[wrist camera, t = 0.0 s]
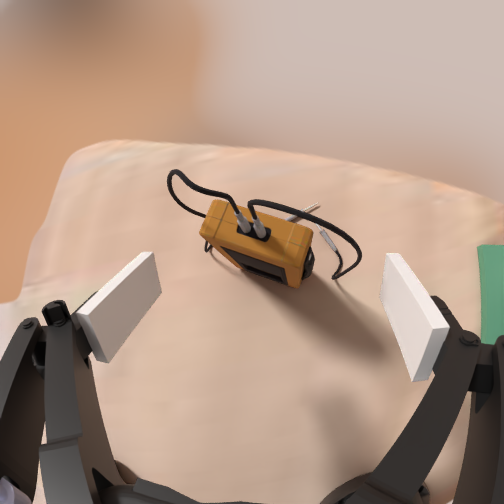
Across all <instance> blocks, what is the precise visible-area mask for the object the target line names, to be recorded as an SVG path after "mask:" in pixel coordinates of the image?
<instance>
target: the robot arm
mask: <svg viewBox="0 0 504 504" xmlns="http://www.w3.org/2000/svg"><path fill="white" fill-rule="evenodd" d="M161 293H162V291H161V287H160V282H159V277H158V273H157V268H156V263H155V258H154V253H153V252H142V253H141V254H139V255H138V256H137V257H136V258H135V259H134V260H132V261H131V262H130V263H129V264H128V265H127V266H126V267H125V268H123V269H122V270H121V271H120V272H119V273H118V274H117V275H116V276H114V277H113V278H112V279H111V280H110V281H109V282H108V283H107V284H106V285H105V286H103V287H102V288H101V289H100V290H99V291H97V292H95V293H94V294H93V295H91V296H90V297H89V298H88V300H86V301H85V302H84V304H82V305H81V306H80V307H79V308H78V309H77V310H76V311H75V312H74V313H73V314H72V315H70V313H69V311H68V308H67V306H66V303H65V301H63V300H56V301H53V302H50V303H48V304H47V305H45V306H44V307H43V309H42V313H43V316H44V318H45V320H46V323H47V325H48V326H41V325H40V323H39V321H38V319H37V318H35V317H32V318H27V319H25V320H24V321H23V322H21V323H20V325H19V326H18V328H17V330H16V331H15V333H14V335H13V337H12V339H11V341H10V343H9V345H8V347H7V349H6V351H5V353H4V355H3V357H2V359H1V361H0V504H32V503H33V500H34V495H35V491H36V484H37V475H38V464H39V460H40V468H41V475H42V481H43V487H44V493H45V498H46V503H47V504H261V503H250V502H241V501H240V502H224V503H200V502H197V501H195V500H193V499H191V498H189V497H187V496H185V495H183V494H181V493H179V492H177V491H175V490H173V489H171V488H169V487H166V486H163V485H159V484H156V483H152V482H149V481H146V480H143V479H140V478H137V481H136V483H135V484H125V483H124V481H123V480H122V478H121V477H120V475H119V472H118V470H117V467H116V464H115V461H114V458H113V455H112V452H111V448H110V445H109V442H108V438H107V435H106V431H105V427H104V423H103V419H102V415H101V411H100V407H99V402H98V398H97V393H96V388H95V383H94V377H93V371H92V365H91V361H90V359H89V356H88V355H89V354H90V353H91V352H93V354H94V356H95V358H96V360H97V361H101V362H105V363H109V362H110V361H111V360H112V358H113V357H114V356H115V354H116V353H117V351H118V350H119V349H120V347H121V346H122V345H123V343H124V342H125V340H126V339H127V338H128V336H129V335H130V334H131V332H132V331H133V330H134V328H135V327H136V326H137V324H138V323H139V322H140V320H141V319H142V318H143V316H144V315H145V314H146V312H147V311H148V310H149V309H150V307H151V306H152V305H153V303H154V302H155V301H156V299H157V298H158V297H159V296H160V294H161ZM380 300H381V302H382V304H383V307H384V309H385V311H386V314H387V316H388V319H389V321H390V324H391V326H392V329H393V331H394V334H395V336H396V339H397V341H398V344H399V347H400V349H401V352H402V355H403V358H404V360H405V363H406V366H407V369H408V372H409V375H410V378H411V381H412V382H415V381H423V380H428V378H429V376H430V374H431V372H432V370H433V372H434V374H435V377H434V379H433V381H432V383H431V384H430V386H429V388H428V390H427V392H426V394H425V395H424V397H423V399H422V401H421V402H420V404H419V406H418V408H417V409H416V411H415V413H414V414H413V416H412V417H411V419H410V421H409V422H408V424H407V425H406V427H405V428H404V430H403V431H402V433H401V434H400V436H399V437H398V439H397V440H396V442H395V443H394V445H393V446H392V447H391V449H390V450H389V452H388V453H387V454H386V456H385V457H384V458H383V460H382V461H381V462H380V463H379V465H378V466H377V467H376V469H375V470H374V471H373V472H371V473H368V474H365V475H362V476H359V477H357V478H354V479H352V480H350V481H348V482H346V483H344V484H343V485H341V486H339V487H338V488H336V489H335V490H334V491H332V492H331V493H330V494H329V495H328V496H326V497H325V498H324V499H323V501H322V502H321V503H320V504H431V503H430V494H429V491H428V488H427V486H426V485H425V484H424V480H425V478H426V477H427V475H428V473H429V472H430V470H431V468H432V467H433V465H434V463H435V461H436V459H437V458H438V456H439V454H440V452H441V450H442V448H443V446H444V444H445V442H446V440H447V438H448V436H449V434H450V432H451V429H452V427H453V425H454V423H455V421H456V418H457V416H458V414H459V411H460V409H461V406H462V404H463V401H464V398H465V396H466V393H467V391H470V392H472V395H471V409H470V419H469V428H468V435H467V442H466V448H465V454H464V459H463V464H462V469H461V473H460V478H459V482H458V486H457V489H456V493H455V497H454V500H453V503H452V504H504V335H501V336H499V337H498V338H497V340H496V342H495V344H494V345H493V344H484V343H481V340H480V338H479V337H478V336H477V335H476V334H474V333H472V332H471V331H466V330H463V329H462V327H461V326H460V324H459V323H458V321H457V320H456V318H455V317H454V315H453V314H452V312H451V311H450V310H449V309H448V307H447V305H446V304H445V302H444V301H443V300H441V299H440V298H439V297H437V296H429V294H428V293H427V291H426V290H425V288H424V287H423V285H422V284H421V283H420V281H419V280H418V278H417V277H416V276H415V274H414V273H413V271H412V270H411V269H410V267H409V266H408V265H407V263H406V262H405V261H404V259H403V258H402V257H401V255H400V254H399V253H386V259H385V266H384V273H383V279H382V285H381V291H380ZM32 358H33V359H34V361H35V362H34V364H33V362H32ZM44 424H46V437H47V444H41V441H42V435H43V429H44Z"/></svg>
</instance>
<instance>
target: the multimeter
mask: <svg viewBox="0 0 504 504" xmlns="http://www.w3.org/2000/svg"><path fill="white" fill-rule="evenodd" d="M174 174H176V175H178V176H179V177H180V178H181V179H182V180H183V182H184V183H185V184H186V185H187V186H189V187H190V188H192V189H193V190H195V191H197V192H200V193H203V194H206V195H210V196H215V197H220V198H224V199H227V200H228V201H229V202H230V203H228V202H225V201H222V200H213V201H212V204H211V206H210V208H209V211H208V213H207V215H205V214H202V213H200V212H197V211H195V210H193V209H191V208H189V207H187V206H186V205H185V204H183V203H182V202H181V201H180V200H179V199H178V198H177V196H176V195H175V193H174V191H173V188H172V176H173V175H174ZM167 186H168V190H169V192H170V194H171V196H172V197H173V199H174V200H175V201H176V202H177V203H178V204H179V205H180V206H181V207H182V208H184V209H185V210H187V211H189V212H191V213H193V214H195V215H198V216H200V217H203V218H205V220H204V222H203V224H202V227H201V229H200V231H199V234H200V235H201V236H202V237H203V238H204V239H205V240H206V243H205V252H208V251H209V250H210V248H211V247H212V246H213V247H214V248H215V249H216V250H218V251H219V252H220V253H221V254H222V255H223V256H224V257H226V258H227V259H228V260H229V261H230V262H231V263H233V264H234V265H235V266H236V267H238V268H240V269H243V270H246V271H248V272H251V273H254V274H257V275H260V276H262V277H265V278H268V279H271V280H273V281H276V282H279V283H282V284H285V285H288V286H290V287H293V288H299V286H300V284H301V281H302V280H304V279H305V278H307V277H309V276H310V275H311V272H312V269H313V265H314V261H315V258H314V254H313V252H312V249H311V242H312V237H313V231H312V230H311V229H310V228H307V227H305V226H302V225H299V224H297V223H292V222H289V221H291V220H293V219H294V218H296V217H301V218H303V219H306V220H309V221H311V222H314V223H315V224H316V225H317V227H318V228H319V229H320V233H321V234H322V236H323V237H324V238H325V240H326V241H327V243H328V244H329V245H330V247H331V248H332V249H333V250H334V251H335V252H336V254H337V255H338V257H339V260H340V264H339V267H338V269H337V271H336V272H335V273H334V275H333V276H332V280H335V279H337V278H339V277H341V276H342V275H344V274H346V273H347V272H349V271H350V270H352V269H353V268H355V267H356V266H357V265H358V264H359V262H360V261H361V258H362V252H361V250H360V248H359V246H358V244H357V243H356V242H355V241H354V239H353V238H351V237H350V236H349V235H348V234H347V233H345V232H344V231H343V230H341V229H339V228H338V227H336V226H334V225H333V224H331V223H329V222H326V221H324V220H322V219H320V218H318V217H315V216H313V215H311V214H308V213H305V212H304V211H306V210H308V209H310V208H312V207H313V206H315V205H317V204H318V203H315V204H313V205H312V206H310V207H308V208H306V209H304V210H303V209H301V210H297V209H294V208H291V207H288V206H285V205H281V204H278V203H274V202H270V201H266V200H259V199H254V200H250V201H248V205H247V206H248V208H249V209H248V208H244V207H241V206H238V205H236V204H235V202H234V200H233V198H232V197H231V196H230V195H228V194H226V193H223V192H218V191H213V190H209V189H206V188H203V187H200V186H198V185H196V184H194V183H193V182H192V181H190V180H189V179H188V178H187V177H186V176H185V175H184V174H183V173H182V172H181V171H180V170H178V169H175V170H171V171H170V173H169V175H168V177H167ZM253 205H260V206H265V207H269V208H273V209H277V210H280V211H283V212H286V213H289V214H292V215H291V216H289V217H288V218H286V219H285V220H283V219H280V218H277V217H274V216H270V215H267V214H264V213H261V212H257V211H255V210H254V207H253ZM319 225H320V226H323V227H325V228H327V229H329V230H331V231H333V232H334V233H336V234H338V235H339V236H341V237H343V238H344V239H345V240H346V241H348V242H349V243H350V244H351V245H352V246H353V247H354V248H355V249H356V251H357V254H358V258H357V261H356V262H355V263H354V264H353V265H352V266H350V267H349V268H348V269H346V270H345V271H343V272H342V273H340V274H339V275H337V276H335V275H336V274H337V273H338V271H339V270H340V268H341V265H342V259H341V256H340V254H339V253H338V251H337V249H336V247H335V245H334V244H333V242H332V241H331V239H330V238H329V237H328V235H327V234H326V233H325V231H324V229H323V230H322V229H321V228H320V226H319ZM208 242H209V243H210V246H209V247H208V249H207V245H208Z"/></svg>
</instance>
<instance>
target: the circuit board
mask: <svg viewBox="0 0 504 504" xmlns="http://www.w3.org/2000/svg"><path fill="white" fill-rule="evenodd" d="M477 249H478V258H479V268H480V282H481V343H484V344H493V345H494V344H495V342H496V340H497V338H498V337H499V336H501V335H504V245H480V246H478V247H477Z"/></svg>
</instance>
